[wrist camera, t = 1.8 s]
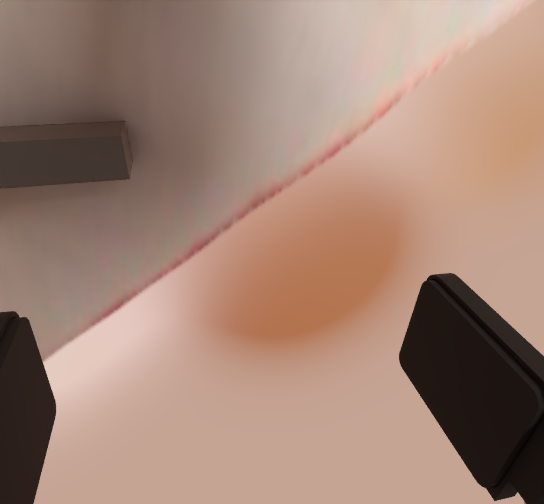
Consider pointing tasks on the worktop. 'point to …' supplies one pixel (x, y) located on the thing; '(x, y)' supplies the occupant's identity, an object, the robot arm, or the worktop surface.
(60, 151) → the plug
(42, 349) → the worktop surface
